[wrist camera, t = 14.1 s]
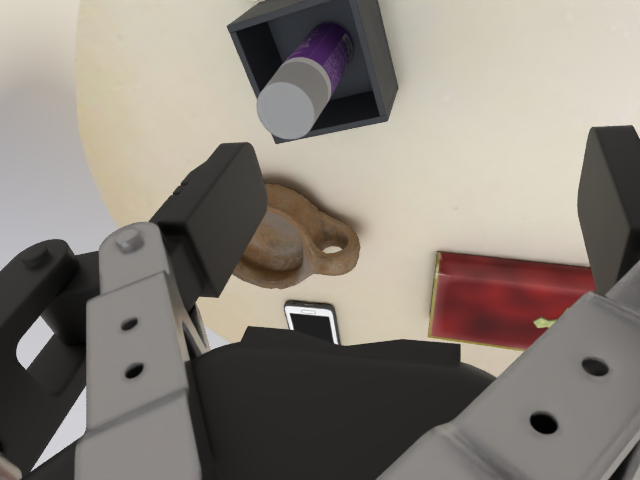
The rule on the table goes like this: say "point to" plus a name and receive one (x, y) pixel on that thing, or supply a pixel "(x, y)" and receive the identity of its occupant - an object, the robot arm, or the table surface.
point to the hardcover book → (501, 299)
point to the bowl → (295, 243)
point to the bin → (293, 27)
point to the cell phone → (312, 320)
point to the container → (306, 81)
